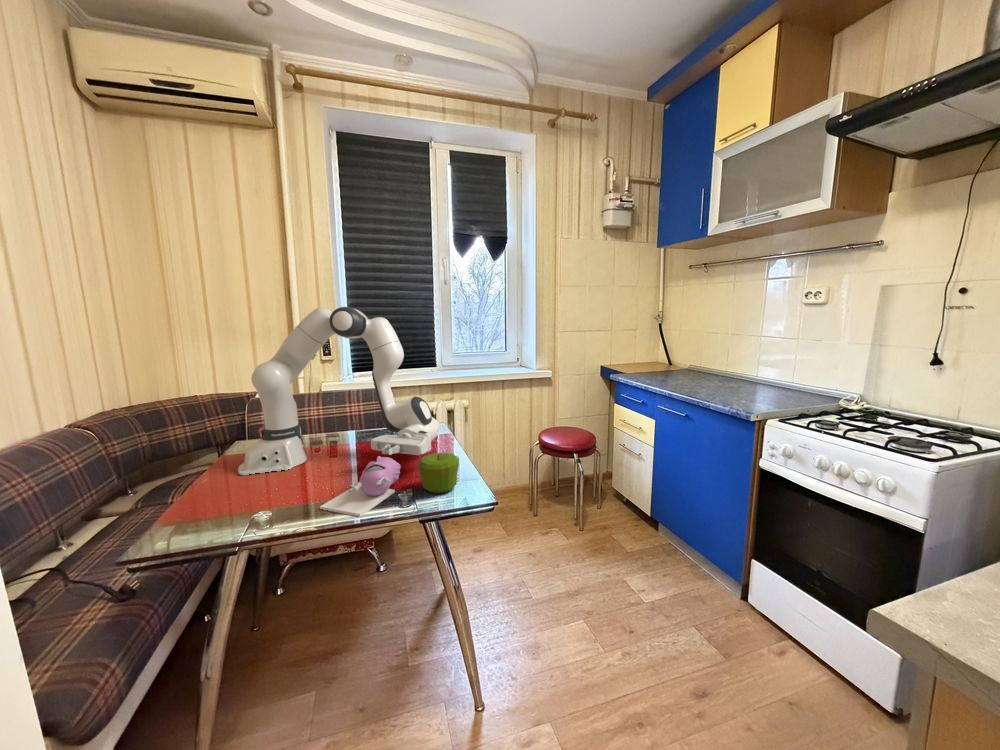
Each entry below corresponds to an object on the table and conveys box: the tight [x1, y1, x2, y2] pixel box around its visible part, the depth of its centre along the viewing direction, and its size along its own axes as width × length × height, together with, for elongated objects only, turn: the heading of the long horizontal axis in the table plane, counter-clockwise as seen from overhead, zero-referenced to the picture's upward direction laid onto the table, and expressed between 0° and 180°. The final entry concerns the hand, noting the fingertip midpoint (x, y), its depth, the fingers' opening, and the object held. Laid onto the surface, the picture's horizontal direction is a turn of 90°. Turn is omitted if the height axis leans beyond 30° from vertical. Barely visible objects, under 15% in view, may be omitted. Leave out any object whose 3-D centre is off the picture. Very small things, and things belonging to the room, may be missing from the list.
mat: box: [319, 487, 396, 517], centre depth 122 cm, size 16×14×1 cm
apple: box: [417, 452, 460, 494], centre depth 128 cm, size 12×12×11 cm
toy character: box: [346, 455, 402, 496], centre depth 126 cm, size 12×10×20 cm
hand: (385, 452), depth 134 cm, fingers closed
